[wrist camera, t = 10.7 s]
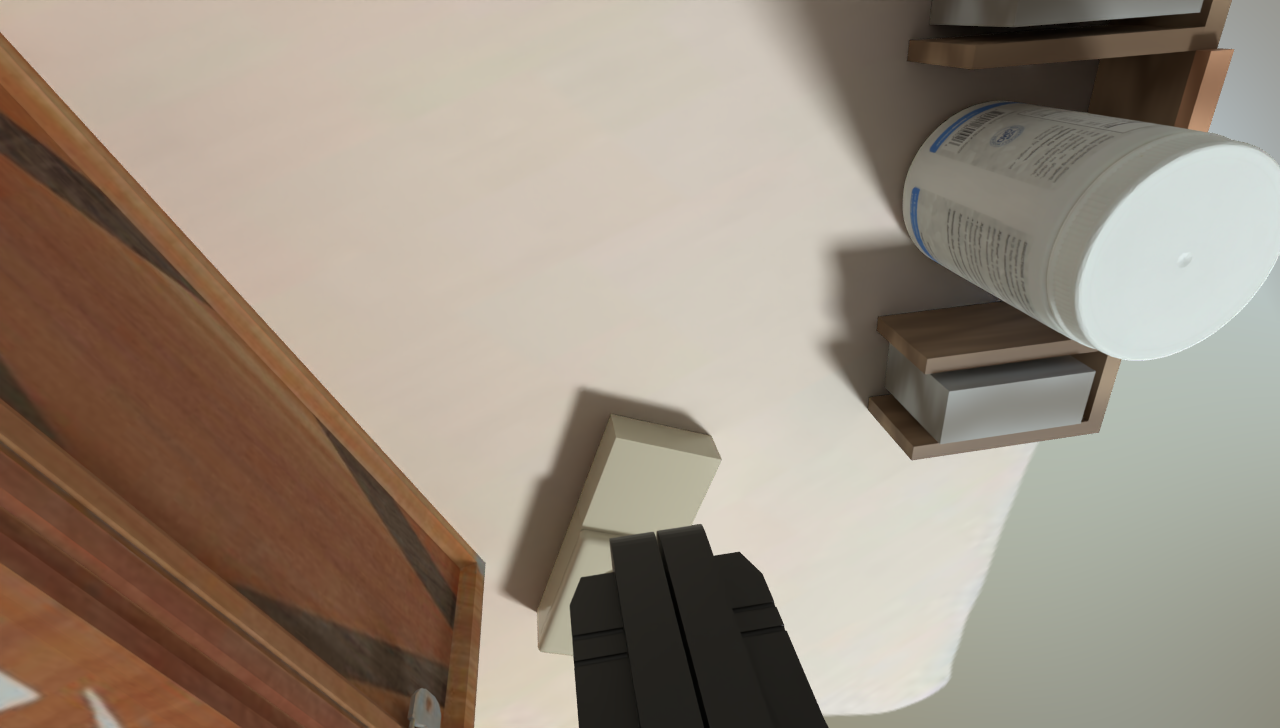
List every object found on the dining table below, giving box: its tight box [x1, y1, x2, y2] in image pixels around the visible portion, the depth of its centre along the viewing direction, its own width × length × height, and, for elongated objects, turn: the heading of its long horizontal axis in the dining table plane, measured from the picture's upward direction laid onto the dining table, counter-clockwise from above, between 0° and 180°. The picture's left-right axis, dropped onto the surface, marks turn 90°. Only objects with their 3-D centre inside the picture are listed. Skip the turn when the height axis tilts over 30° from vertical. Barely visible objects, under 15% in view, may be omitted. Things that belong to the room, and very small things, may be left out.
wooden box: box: [0, 32, 485, 728], centre depth 31 cm, size 20×41×20 cm, turn 27°
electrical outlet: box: [537, 414, 722, 656], centre depth 47 cm, size 7×4×18 cm
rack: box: [868, 0, 1234, 460], centre depth 36 cm, size 29×13×10 cm, turn 3°
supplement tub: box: [903, 101, 1280, 361], centre depth 34 cm, size 10×10×15 cm
